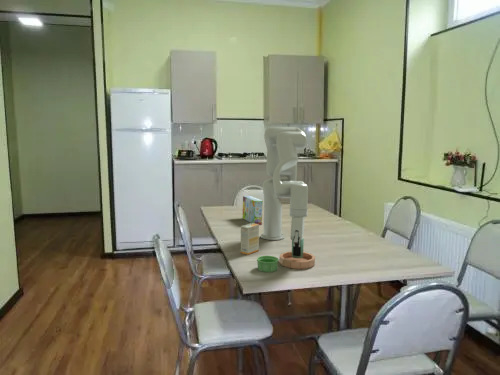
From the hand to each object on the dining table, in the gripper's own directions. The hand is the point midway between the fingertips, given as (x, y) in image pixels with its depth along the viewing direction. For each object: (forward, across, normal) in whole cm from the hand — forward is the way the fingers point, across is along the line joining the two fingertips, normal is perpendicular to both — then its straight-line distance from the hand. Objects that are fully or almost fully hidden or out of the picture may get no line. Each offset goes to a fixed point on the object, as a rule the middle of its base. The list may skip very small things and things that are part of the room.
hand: (297, 253), depth 175 cm
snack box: (+4, -75, -36) cm, 83 cm away
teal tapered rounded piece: (+1, 0, 0) cm, 1 cm away
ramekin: (+5, +10, -11) cm, 16 cm away
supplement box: (+5, -11, -24) cm, 26 cm away
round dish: (+4, 0, 0) cm, 4 cm away
